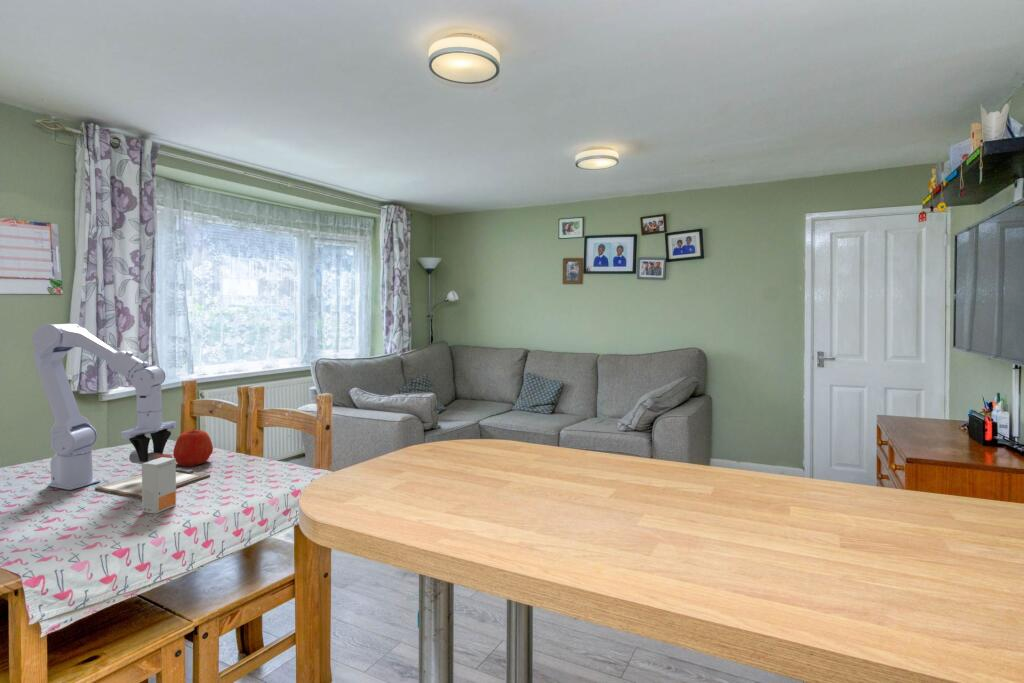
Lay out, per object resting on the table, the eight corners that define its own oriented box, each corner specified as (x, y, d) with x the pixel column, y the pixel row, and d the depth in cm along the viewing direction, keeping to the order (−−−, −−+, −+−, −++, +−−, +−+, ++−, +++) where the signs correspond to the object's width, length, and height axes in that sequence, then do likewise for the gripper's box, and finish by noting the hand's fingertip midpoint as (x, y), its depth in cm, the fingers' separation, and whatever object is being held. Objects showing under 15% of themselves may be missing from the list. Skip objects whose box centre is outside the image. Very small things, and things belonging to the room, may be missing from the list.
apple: (220, 461, 173) (219, 428, 173) (185, 470, 164) (184, 435, 163) (201, 456, 179) (200, 424, 178) (166, 464, 170) (165, 430, 169)
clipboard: (94, 489, 146) (94, 485, 146) (165, 469, 165) (165, 465, 165) (142, 499, 140) (142, 494, 140) (210, 476, 159) (210, 472, 158)
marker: (129, 465, 152) (124, 454, 151) (141, 457, 155) (136, 447, 154) (163, 470, 148) (158, 459, 147) (174, 462, 151) (170, 451, 150)
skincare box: (157, 514, 130) (155, 464, 129) (141, 512, 131) (140, 463, 130) (177, 505, 136) (176, 457, 135) (162, 503, 137) (161, 456, 136)
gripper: (133, 416, 142) (135, 468, 143) (184, 407, 155) (185, 454, 156) (114, 414, 144) (116, 465, 145) (166, 405, 158) (167, 451, 159)
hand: (150, 459), depth 151 cm, fingers closed on marker, 4 cm apart
